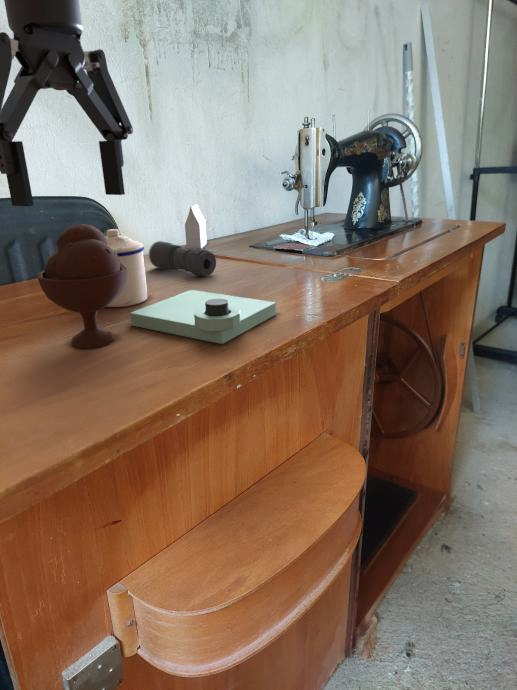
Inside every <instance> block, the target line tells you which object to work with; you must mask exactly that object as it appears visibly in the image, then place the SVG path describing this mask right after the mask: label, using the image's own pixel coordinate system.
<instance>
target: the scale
mask: <svg viewBox="0 0 517 690" xmlns="http://www.w3.org/2000/svg"><path fill="white" fill-rule="evenodd" d="M210 299H226V300H228V305H229V314H227V315H224V316H208V315H206V308H205V302H206V301H207V300H210ZM276 315H277V302H275V301H269V300H262V299H261V300H260V299H255V298H251V297H250V298H249V297H242V296H237V295H229V294H223V293H215V292H208V291H202V290H195V289H189V290H187V291H184V292H182V293H179V294H176V295H173V296H170V297H168V298H165V299H163V300H160V301H158V302H155V303H152V304H150V305H147V306H144V307H142V308H139V309H137V310H134V311H131V312H129V319H130V326H133V327H137V328H142V329H147V330H153V331H156V332H162V333H166V334H172V335H176V336H181V337H186V338H191V339H195V340H201V341H205V342H209V343H210V342H211V343H215V344H220V345H224V344H225V343H227V342H229V341H231V340H232V339H234V338H236V337H238V336H240V335H242V334H243V333H245V332H247V331H249V330H250V329H253V328H254V327H256V326H258V325H260V324H261V323H263V322H265V321H267V320H269V319H271V318H273V317H274V316H276Z"/></svg>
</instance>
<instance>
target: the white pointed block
mask: <svg viewBox="0 0 517 690" xmlns="http://www.w3.org/2000/svg"><path fill="white" fill-rule="evenodd" d="M206 225H207V224H206V219H205V217H204V216H203V213H202V212H201V210H200V207H199V204H198V203H197V204H193V205H192V206H190V207H189V211H188V215H187V218H186V220H185V223H184V232H185V245H186V247H185V248H186V249H194V250H196V249H203V248H204V247H205V246H206V245H207V244H208V241H207V227H206Z"/></svg>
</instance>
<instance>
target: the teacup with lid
mask: <svg viewBox="0 0 517 690" xmlns="http://www.w3.org/2000/svg"><path fill="white" fill-rule="evenodd" d="M104 236H105V238H106V240H107V245H108V246H109V247H111V249H112V250H113V252H114V251H115V252H116V253H117V255H118V258H119V261H120V263H122V264H124V265H125V266H126V268H127V281H126V284H125V286H124V289H123V291H122V292H121V293H120V294H119V296H118V297H117V298H116V299H115V300H114V301H113V302H111V303H110V304H109V305H108V306H106V307H105V308H123V307H131V306H134V305H138V304H141V303H143V302H145V301H146V300H147V299H148V288H147V277H146V269H145V260H144V259H145V258H144V250H145V247H144V245H143V243H142V242H141V241H137V240H133V239H131V238H129V237H127V236H126V235H121V234H120V230H119V229H117V228H111V229H107V230H106V235H104Z"/></svg>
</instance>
